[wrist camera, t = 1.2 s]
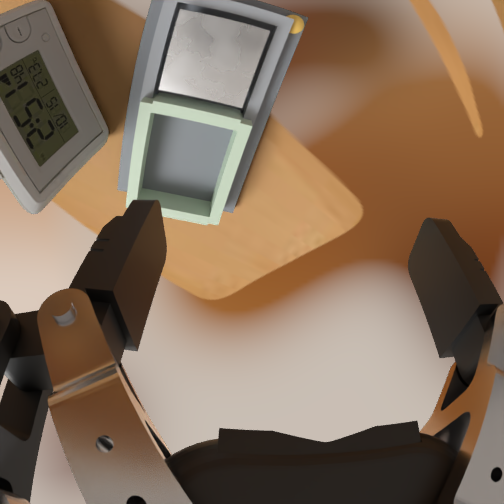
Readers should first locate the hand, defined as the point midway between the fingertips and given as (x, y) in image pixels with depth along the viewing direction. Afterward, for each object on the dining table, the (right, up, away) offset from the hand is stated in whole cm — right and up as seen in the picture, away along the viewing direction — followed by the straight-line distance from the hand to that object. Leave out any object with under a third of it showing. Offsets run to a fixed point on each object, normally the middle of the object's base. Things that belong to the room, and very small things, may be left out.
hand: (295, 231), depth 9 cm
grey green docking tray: (-6, +12, +16) cm, 21 cm away
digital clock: (-18, +15, +13) cm, 27 cm away
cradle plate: (-4, +14, +11) cm, 18 cm away
